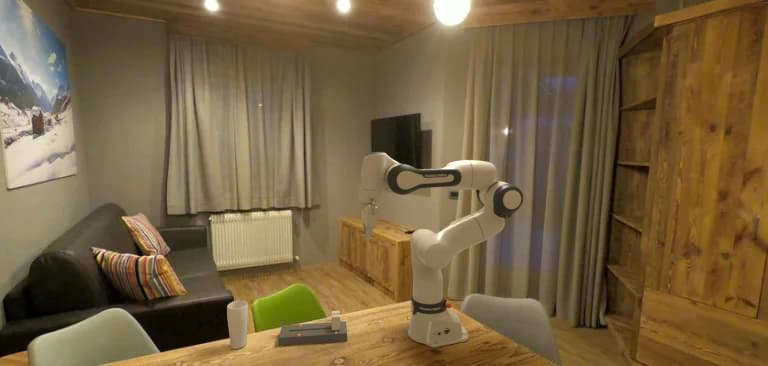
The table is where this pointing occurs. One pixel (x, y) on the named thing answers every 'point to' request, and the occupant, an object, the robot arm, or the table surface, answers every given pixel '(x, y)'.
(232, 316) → the drinking glass
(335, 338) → the console
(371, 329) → the table surface
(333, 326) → the fader tab
